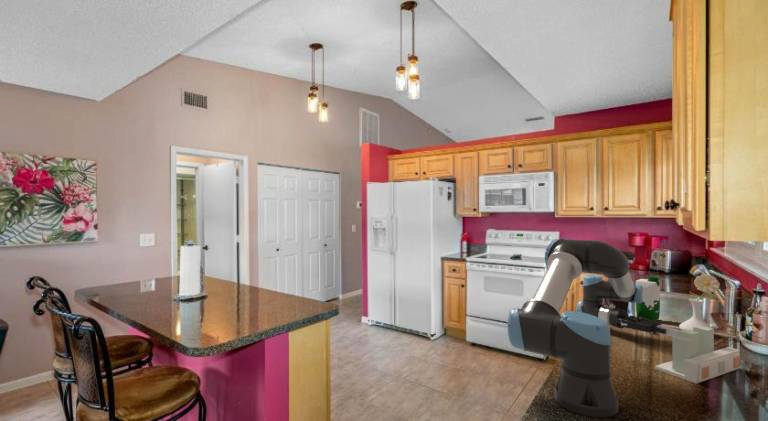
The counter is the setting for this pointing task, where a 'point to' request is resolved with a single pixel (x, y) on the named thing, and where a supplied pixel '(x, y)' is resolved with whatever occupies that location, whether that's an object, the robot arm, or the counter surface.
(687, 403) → the counter surface
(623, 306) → the coffee mug
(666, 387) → the counter surface
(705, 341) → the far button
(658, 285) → the milk carton
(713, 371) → the pattern card
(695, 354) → the middle button
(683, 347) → the pale green tall block
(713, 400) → the counter surface
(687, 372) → the button panel
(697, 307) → the flower in vase
